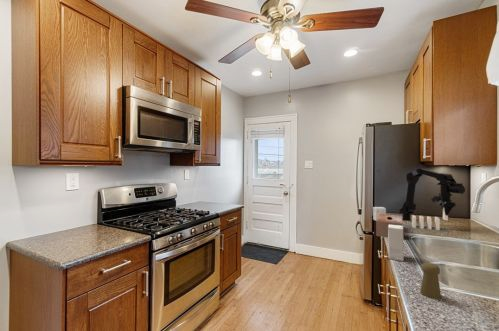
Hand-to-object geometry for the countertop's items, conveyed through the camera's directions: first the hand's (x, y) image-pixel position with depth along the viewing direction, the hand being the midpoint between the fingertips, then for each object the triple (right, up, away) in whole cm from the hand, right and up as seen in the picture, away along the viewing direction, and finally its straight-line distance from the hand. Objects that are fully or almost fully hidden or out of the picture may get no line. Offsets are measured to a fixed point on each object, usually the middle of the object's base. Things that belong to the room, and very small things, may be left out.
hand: (445, 214), depth 164 cm
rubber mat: (-10, -12, +5) cm, 16 cm away
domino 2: (-8, -11, +4) cm, 14 cm away
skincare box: (-62, -12, -45) cm, 78 cm away
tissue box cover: (-40, -12, -3) cm, 42 cm away
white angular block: (-16, -11, +8) cm, 21 cm away
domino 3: (-4, -11, +2) cm, 12 cm away
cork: (-70, -13, -78) cm, 106 cm away
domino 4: (0, -4, 0) cm, 4 cm away
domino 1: (-12, -11, +6) cm, 17 cm away
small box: (-28, -11, +31) cm, 44 cm away
